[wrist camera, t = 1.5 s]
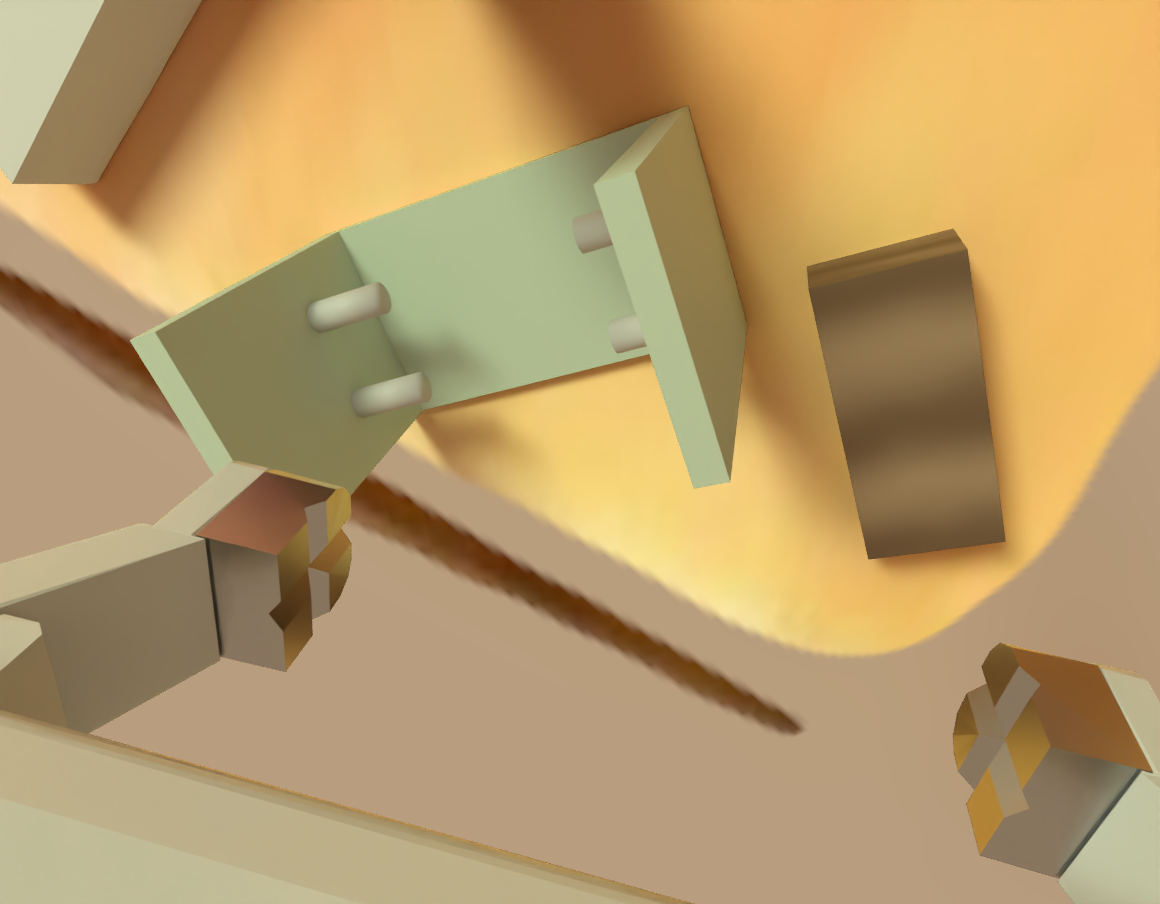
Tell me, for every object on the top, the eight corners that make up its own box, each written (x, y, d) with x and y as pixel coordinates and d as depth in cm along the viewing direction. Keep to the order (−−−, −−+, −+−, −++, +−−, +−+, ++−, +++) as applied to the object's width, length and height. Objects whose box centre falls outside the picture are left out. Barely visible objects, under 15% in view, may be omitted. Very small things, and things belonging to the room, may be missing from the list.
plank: (806, 264, 36) (808, 289, 33) (951, 226, 34) (967, 249, 31) (862, 518, 41) (868, 559, 39) (989, 500, 39) (1005, 541, 36)
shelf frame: (688, 105, 33) (634, 171, 21) (747, 325, 37) (730, 482, 25) (324, 235, 40) (129, 340, 28) (409, 409, 44) (270, 565, 32)
